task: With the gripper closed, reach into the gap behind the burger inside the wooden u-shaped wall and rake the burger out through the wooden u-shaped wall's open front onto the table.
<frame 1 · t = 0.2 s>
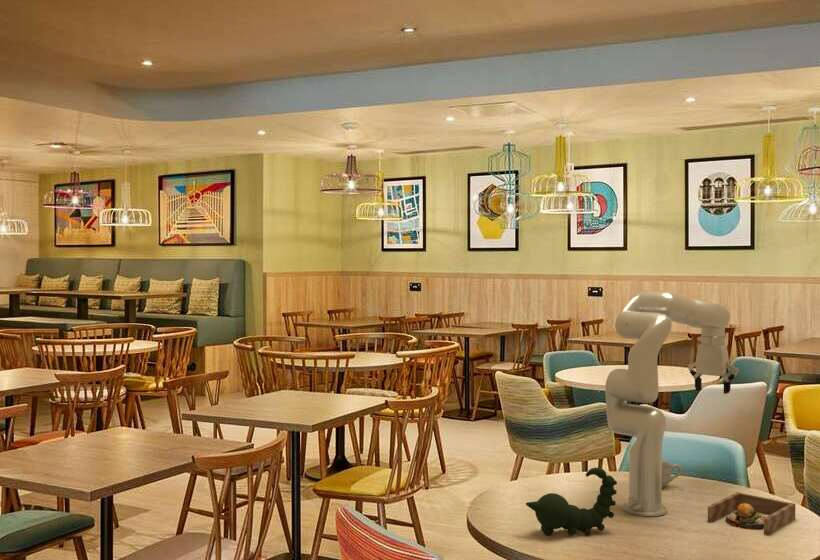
hand: (712, 391, 289), 31 cm above the table, tool pointing down, fingers open, 9 cm apart
wooden u-shaped wall: (751, 520, 248), on the table
teacup: (659, 487, 285), on the table
toy figurine: (570, 534, 237), on the table
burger: (747, 524, 246), on the table
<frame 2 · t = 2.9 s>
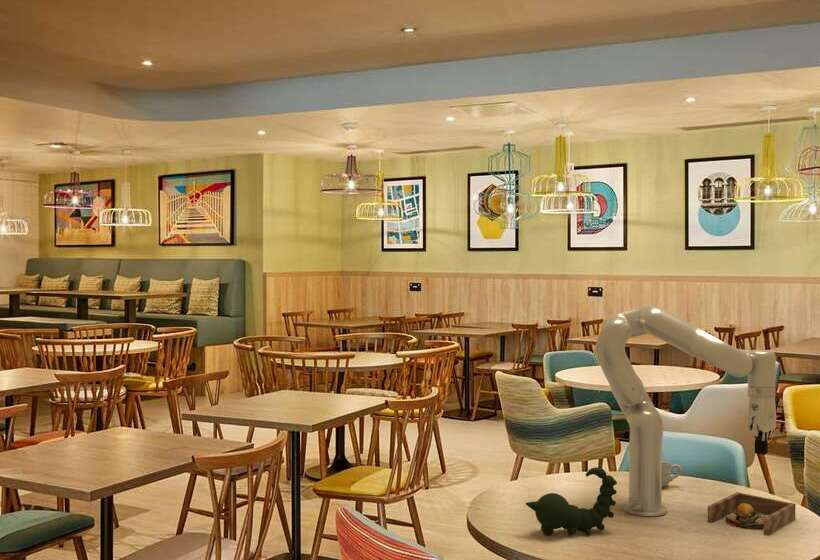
hand: (761, 453, 252), 19 cm above the table, tool pointing down, fingers closed
nothing on the table moved.
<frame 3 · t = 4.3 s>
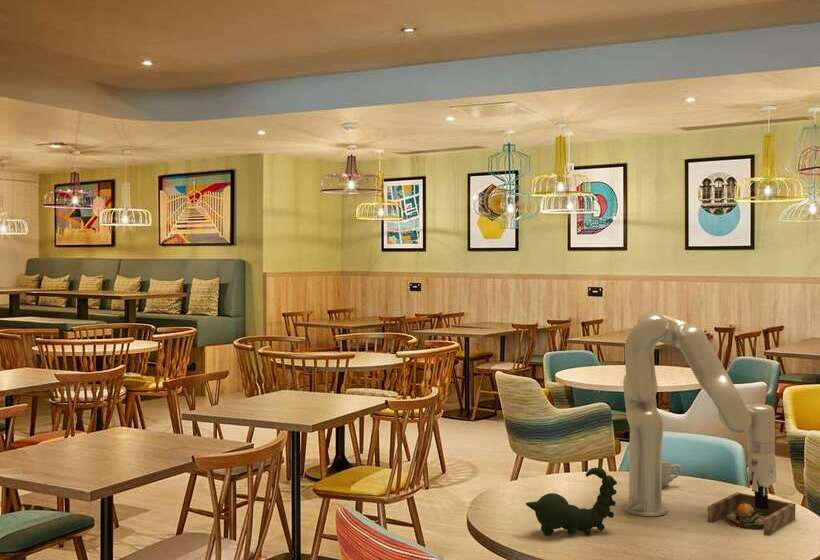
hand: (761, 507, 253), 2 cm above the table, tool pointing down, fingers closed
nothing on the table moved.
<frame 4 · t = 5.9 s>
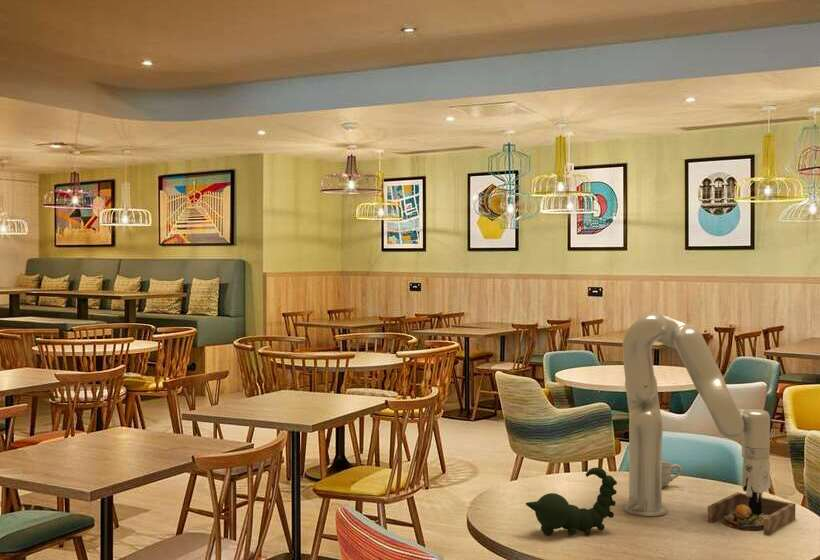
hand: (755, 514, 250), 1 cm above the table, tool pointing down, fingers closed
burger: (745, 525, 245), on the table
everything else where it was.
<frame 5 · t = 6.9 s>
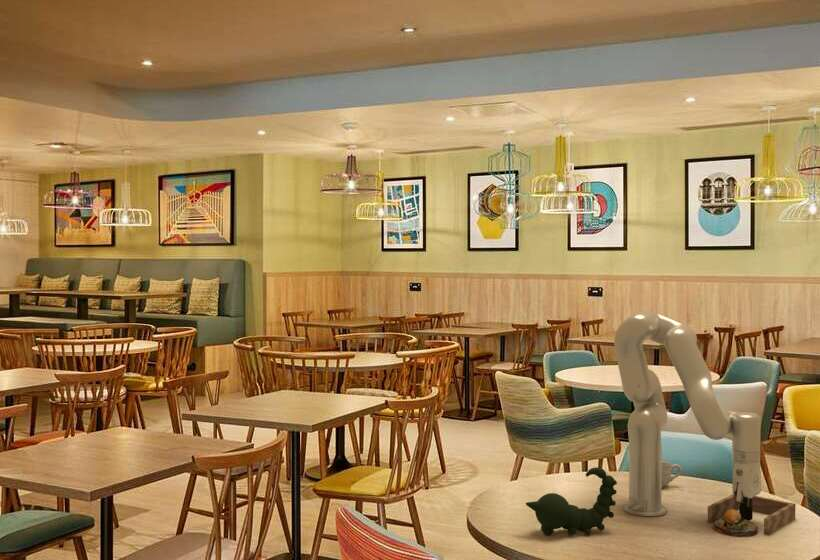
hand: (745, 519, 245), 1 cm above the table, tool pointing down, fingers closed
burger: (734, 531, 240), on the table
everything else where it was.
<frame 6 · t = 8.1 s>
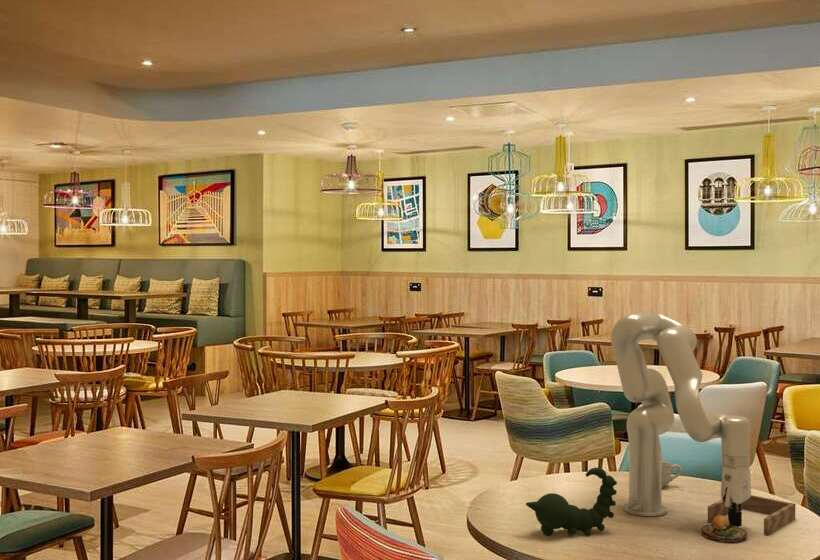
hand: (734, 525, 240), 1 cm above the table, tool pointing down, fingers closed
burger: (723, 537, 235), on the table, touching gripper
everything else where it was.
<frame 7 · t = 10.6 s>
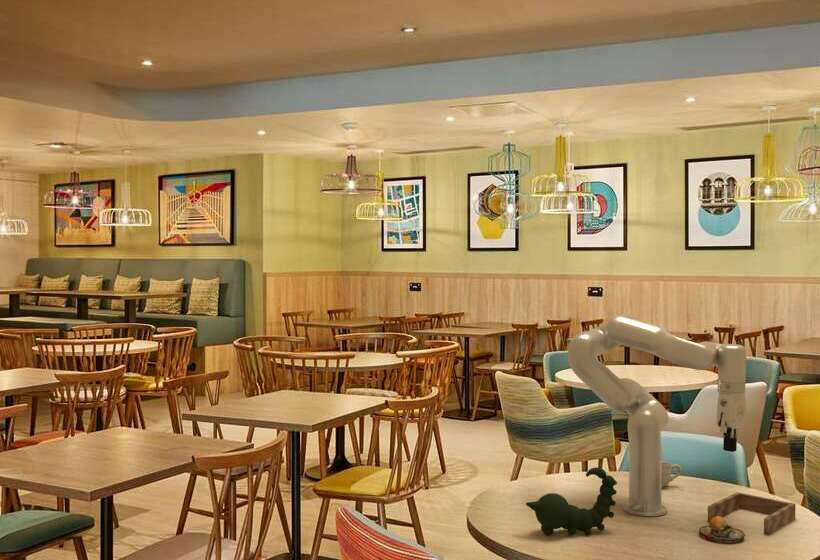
hand: (729, 450, 245), 21 cm above the table, tool pointing down, fingers closed
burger: (721, 538, 234), on the table
everything else where it was.
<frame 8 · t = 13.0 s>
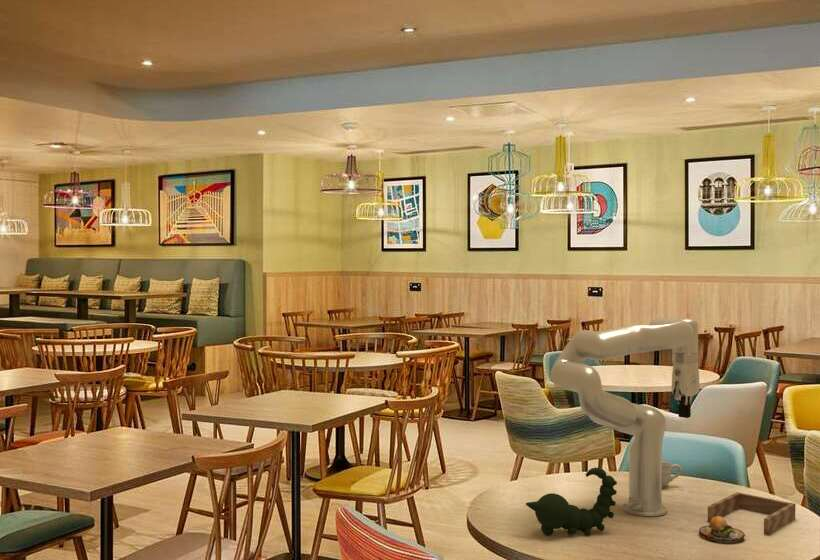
hand: (684, 417, 264), 27 cm above the table, tool pointing down, fingers closed
nothing on the table moved.
at the end: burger inside the target area (3.5 cm from its centre), on the table; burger tilted 0° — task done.
